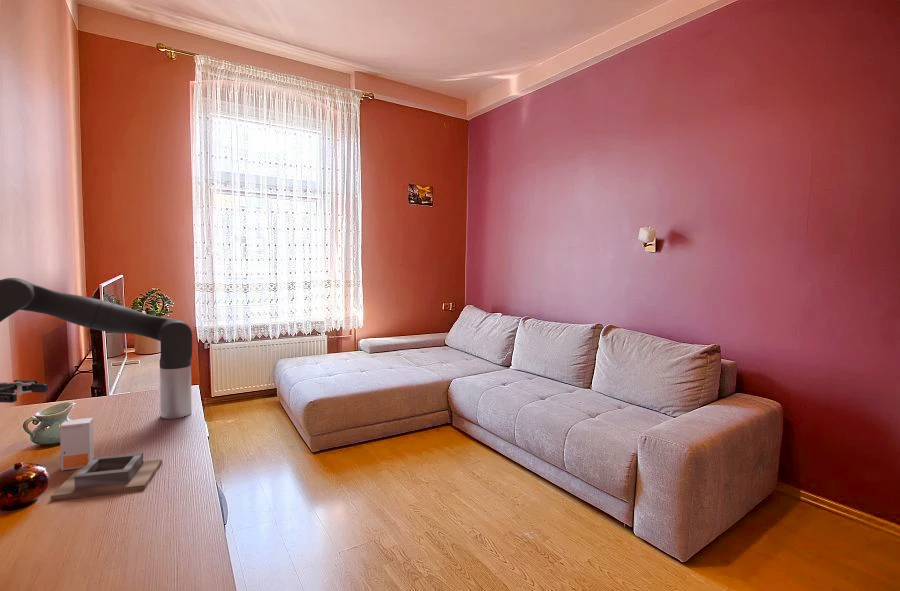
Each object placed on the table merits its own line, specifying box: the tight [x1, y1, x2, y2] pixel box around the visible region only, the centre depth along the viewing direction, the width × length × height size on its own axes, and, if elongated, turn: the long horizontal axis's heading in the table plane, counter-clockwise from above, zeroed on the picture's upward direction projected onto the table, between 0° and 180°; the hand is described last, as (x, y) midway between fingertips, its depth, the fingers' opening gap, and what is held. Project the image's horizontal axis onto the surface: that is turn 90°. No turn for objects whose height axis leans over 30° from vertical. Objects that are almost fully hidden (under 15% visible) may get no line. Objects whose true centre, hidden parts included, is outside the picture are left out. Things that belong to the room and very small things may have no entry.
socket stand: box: [50, 452, 163, 502], centre depth 108 cm, size 14×18×4 cm
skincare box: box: [59, 417, 95, 472], centre depth 115 cm, size 6×4×12 cm
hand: (31, 392), depth 113 cm, fingers open, 8 cm apart
